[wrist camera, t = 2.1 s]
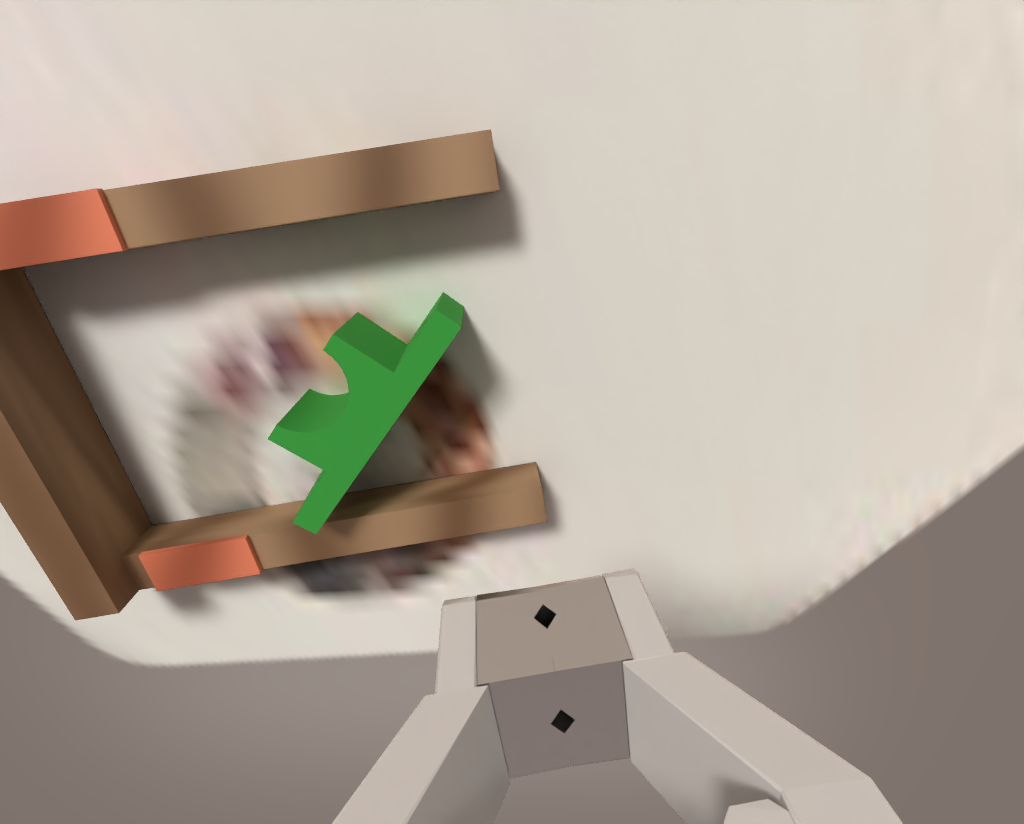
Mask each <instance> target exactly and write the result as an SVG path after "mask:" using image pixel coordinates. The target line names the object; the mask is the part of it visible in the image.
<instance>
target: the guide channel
mask: <svg viewBox="0 0 1024 824" xmlns="http://www.w3.org/2000/svg"><path fill="white" fill-rule="evenodd" d="M498 190H499V183H498V176H497V169H496V162H495V155H494V148H493V141H492V134H491V130H485V131H478V132H472V133H466V134H459V135H453V136H446V137H440V138H434V139H427V140H421V141H415V142H408V143H402V144H395V145H389V146H383V147H376V148H370V149H364V150H357V151H351V152H344V153H338V154H332V155H325V156H319V157H313V158H306V159H300V160H293V161H287V162H281V163H274V164H268V165H261V166H255V167H249V168H242V169H236V170H230V171H223V172H217V173H210V174H204V175H198V176H191V177H185V178H179V179H172V180H166V181H159V182H153V183H147V184H140V185H134V186H128V187H121V188H115V189H108V190H102V189H91V190H85V191H78V192H72V193H66V194H59V195H53V196H46V197H40V198H34V199H27V200H21V201H14V202H8V203H2V204H0V502H1V504H2V505H3V507H4V509H5V510H6V512H7V513H8V515H9V516H10V518H11V520H12V521H13V523H14V524H15V526H16V527H17V529H18V531H19V532H20V534H21V535H22V537H23V539H24V540H25V542H26V543H27V545H28V546H29V548H30V550H31V551H32V553H33V554H34V556H35V557H36V559H37V561H38V562H39V564H40V565H41V567H42V569H43V570H44V572H45V573H46V575H47V576H48V578H49V580H50V581H51V583H52V584H53V586H54V587H55V589H56V591H57V592H58V594H59V595H60V597H61V599H62V600H63V602H64V603H65V605H66V606H67V608H68V610H69V611H70V613H71V614H72V616H73V617H74V619H75V620H80V619H86V618H92V617H98V616H104V615H110V614H116V613H119V612H120V611H121V610H122V609H123V608H124V607H125V606H126V604H127V603H128V602H129V601H130V600H131V599H132V598H133V596H134V595H135V594H136V593H137V592H138V591H139V590H142V589H148V588H154V587H155V588H156V590H157V591H161V590H167V589H173V588H179V587H185V586H191V585H197V584H203V583H209V582H215V581H221V580H227V579H233V578H239V577H245V576H251V575H257V574H261V572H262V571H263V569H267V568H273V567H279V566H285V565H291V564H297V563H303V562H309V561H315V560H321V559H327V558H333V557H339V556H345V555H351V554H357V553H363V552H369V551H375V550H381V549H387V548H393V547H399V546H405V545H411V544H417V543H423V542H429V541H435V540H441V539H447V538H453V537H459V536H465V535H471V534H477V533H483V532H489V531H495V530H501V529H507V528H513V527H519V526H525V525H531V524H537V523H543V522H547V519H546V512H545V505H544V498H543V491H542V485H541V481H540V477H539V473H538V469H537V465H536V462H534V463H528V464H522V465H516V466H509V467H503V468H497V469H491V470H485V471H479V472H473V473H467V474H461V475H455V476H449V477H443V478H437V479H431V480H425V481H419V482H413V483H407V484H401V485H394V486H388V487H382V488H376V489H370V490H364V491H358V492H352V493H346V494H344V495H343V497H342V498H341V500H340V501H339V502H338V504H337V505H336V507H335V508H334V510H333V511H332V512H331V514H330V515H329V517H328V518H327V520H326V521H325V522H324V524H323V525H322V527H321V528H320V529H319V531H318V532H317V534H314V533H312V532H310V531H308V530H306V529H304V528H302V527H300V526H298V525H296V524H294V523H292V522H293V520H294V519H295V517H296V515H297V513H298V512H299V510H300V508H301V506H302V505H303V503H304V501H305V500H304V501H298V502H292V503H286V504H280V505H273V506H267V507H261V508H255V509H249V510H243V511H237V512H231V513H225V514H219V515H213V516H207V517H201V518H195V519H189V520H183V521H177V522H171V523H165V524H158V525H152V524H151V522H150V520H149V518H148V516H147V514H146V512H145V510H144V508H143V506H142V504H141V502H140V500H139V498H138V496H137V494H136V492H135V490H134V488H133V486H132V484H131V483H130V481H129V479H128V477H127V475H126V473H125V471H124V469H123V467H122V465H121V463H120V461H119V459H118V457H117V455H116V453H115V451H114V449H113V447H112V445H111V443H110V441H109V439H108V437H107V435H106V433H105V431H104V429H103V427H102V425H101V423H100V421H99V419H98V417H97V415H96V413H95V411H94V410H93V408H92V406H91V404H90V402H89V400H88V398H87V396H86V394H85V392H84V390H83V388H82V386H81V384H80V382H79V380H78V378H77V376H76V374H75V372H74V370H73V368H72V366H71V364H70V362H69V360H68V358H67V356H66V354H65V352H64V350H63V348H62V346H61V344H60V342H59V340H58V338H57V337H56V335H55V333H54V331H53V329H52V327H51V325H50V323H49V321H48V319H47V317H46V315H45V313H44V311H43V309H42V307H41V305H40V303H39V301H38V299H37V297H36V295H35V293H34V291H33V289H32V287H31V285H30V283H29V281H28V279H27V277H26V275H25V273H24V271H23V269H22V267H24V266H31V265H37V264H43V263H50V262H56V261H62V260H69V259H75V258H81V257H88V256H94V255H100V254H107V253H113V252H119V251H125V250H132V249H138V248H144V247H151V246H157V245H163V244H170V243H176V242H182V241H189V240H195V239H201V238H208V237H214V236H220V235H227V234H233V233H239V232H245V231H252V230H258V229H264V228H271V227H277V226H283V225H290V224H296V223H302V222H309V221H315V220H321V219H328V218H334V217H340V216H347V215H353V214H359V213H365V212H372V211H378V210H384V209H391V208H397V207H403V206H410V205H416V204H422V203H429V202H435V201H441V200H448V199H454V198H460V197H467V196H473V195H479V194H485V193H492V192H497V191H498Z"/></svg>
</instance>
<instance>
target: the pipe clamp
mask: <svg viewBox="0 0 1024 824" xmlns="http://www.w3.org/2000/svg"><path fill="white" fill-rule="evenodd" d="M463 309H464V307H463V306H462V305H461V304H459V303H458V302H456V301H455V300H454V299H452V298H451V297H449V296H448V295H446V294H445V293H444V292H443V293H442V295H441V296H440V298H439V299H438V301H437V302H436V304H435V305H434V306H433V308H432V309H431V311H430V312H429V314H428V315H427V317H426V318H425V320H424V321H423V323H422V324H421V326H420V327H419V329H418V330H417V332H416V333H415V335H414V336H413V338H412V339H411V340H410V342H409V343H408V345H407V344H405V343H404V342H402V341H401V340H399V339H398V338H396V337H395V336H393V335H392V334H390V333H389V332H387V331H386V330H384V329H383V328H381V327H380V326H378V325H377V324H375V323H374V322H372V321H371V320H369V319H367V318H366V317H364V316H363V315H361V314H360V313H356V314H355V315H354V316H353V317H352V318H351V319H350V320H349V321H347V322H346V323H345V324H344V325H343V326H342V327H341V328H340V329H338V330H337V331H336V332H335V333H334V334H333V335H332V337H331V338H330V340H329V342H328V343H327V345H326V346H325V348H324V351H325V352H327V353H328V354H329V355H330V356H332V357H333V358H334V359H335V360H336V362H337V363H338V364H339V365H340V367H341V368H342V370H343V372H344V374H345V376H346V379H347V382H348V388H349V392H348V393H346V394H342V395H325V394H321V393H318V392H315V391H313V390H311V389H309V390H308V391H307V392H306V393H305V394H304V395H303V397H302V398H301V399H300V400H299V401H298V402H297V403H296V404H295V405H294V406H293V407H292V409H291V410H290V411H289V412H288V413H287V414H286V415H285V416H284V417H283V418H282V420H281V421H280V422H279V423H278V424H277V425H276V427H275V428H274V430H273V431H272V433H271V435H270V436H269V438H268V440H270V441H272V442H274V443H276V444H277V445H279V446H281V447H283V448H285V449H287V450H288V451H290V452H292V453H294V454H296V455H297V456H299V457H301V458H303V459H305V460H307V461H308V462H310V463H312V464H314V465H316V466H317V467H319V468H321V469H323V471H322V472H321V474H320V475H319V477H318V479H317V481H316V482H315V484H314V486H313V487H312V489H311V491H310V493H309V494H308V496H307V498H306V500H305V501H304V503H303V505H302V506H301V508H300V510H299V512H298V513H297V515H296V517H295V519H294V520H293V522H292V523H294V524H296V525H298V526H300V527H302V528H304V529H306V530H308V531H310V532H312V533H314V534H317V532H318V531H319V529H320V528H321V527H322V525H323V524H324V522H325V521H326V520H327V518H328V517H329V515H330V514H331V512H332V511H333V510H334V508H335V507H336V505H337V504H338V502H339V501H340V500H341V498H342V497H343V495H344V494H345V493H346V491H347V490H348V488H349V487H350V485H351V484H352V483H353V481H354V480H355V478H356V477H357V475H358V474H359V473H360V471H361V470H362V468H363V467H364V466H365V464H366V463H367V461H368V460H369V458H370V457H371V456H372V454H373V453H374V451H375V450H376V448H377V447H378V446H379V444H380V443H381V441H382V440H383V439H384V437H385V436H386V434H387V433H388V431H389V430H390V429H391V427H392V426H393V424H394V423H395V421H396V420H397V419H398V417H399V416H400V414H401V413H402V412H403V410H404V409H405V407H406V406H407V404H408V403H409V402H410V400H411V399H412V397H413V396H414V394H415V393H416V392H417V390H418V389H419V387H420V386H421V385H422V383H423V382H424V380H425V379H426V377H427V376H428V375H429V373H430V372H431V370H432V369H433V367H434V366H435V365H436V363H437V362H438V360H439V359H440V358H441V356H442V355H443V353H444V352H445V350H446V349H447V348H448V346H449V345H450V343H451V342H452V340H453V339H454V338H455V336H456V335H457V333H458V332H459V331H460V329H461V328H462V319H463Z"/></svg>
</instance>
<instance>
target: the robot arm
mask: <svg viewBox="0 0 1024 824" xmlns="http://www.w3.org/2000/svg"><path fill="white" fill-rule="evenodd" d="M626 758H631V762H632V763H633V764H634V765H635V767H636V768H637V769H638V770H639V771H640V772H641V773H642V774H643V775H644V777H645V778H646V779H647V780H648V781H649V782H650V783H651V785H652V786H653V787H654V788H655V789H656V790H657V791H658V793H659V794H660V795H661V796H662V797H663V798H664V799H665V800H666V802H667V803H668V804H669V805H670V806H671V807H672V808H673V809H674V811H675V812H676V813H677V814H678V815H679V816H680V817H681V819H683V821H684V822H685V823H686V824H903V823H902V822H901V820H900V819H899V817H898V816H897V814H896V813H895V812H894V810H893V809H892V807H891V806H890V805H889V803H888V802H887V800H886V799H885V797H884V796H883V795H882V793H881V792H880V790H879V789H878V787H877V786H876V785H875V783H874V782H873V780H872V779H871V778H870V777H869V776H867V775H866V774H864V773H863V772H861V771H860V770H858V769H857V768H855V767H854V766H853V765H851V764H850V763H848V762H847V761H845V760H844V759H842V758H841V757H839V756H838V755H836V754H835V753H834V752H832V751H831V750H829V749H828V748H826V747H825V746H823V745H822V744H820V743H819V742H817V741H816V740H815V739H813V738H812V737H810V736H809V735H807V734H806V733H804V732H803V731H801V730H800V729H798V728H797V727H795V726H794V725H792V724H791V723H790V722H788V721H787V720H785V719H784V718H782V717H781V716H779V715H778V714H776V713H775V712H774V711H772V710H770V709H769V708H768V707H766V706H765V705H763V704H762V703H760V702H759V701H757V700H756V699H755V698H753V697H751V696H750V695H748V694H747V693H746V692H744V691H743V690H741V689H740V688H738V687H737V686H735V685H734V684H732V683H731V682H730V681H728V680H727V679H725V678H724V677H722V676H721V675H719V674H718V673H716V672H715V671H714V670H712V669H710V668H709V667H708V666H706V665H705V664H703V663H702V662H700V661H699V660H697V659H696V658H695V657H693V656H691V655H690V654H689V653H687V652H686V651H685V652H678V653H675V652H674V650H673V648H672V646H671V643H670V641H669V639H668V637H667V635H666V633H665V630H664V628H663V626H662V624H661V622H660V620H659V617H658V615H657V613H656V611H655V609H654V607H653V605H652V602H651V600H650V598H649V596H648V594H647V592H646V589H645V587H644V585H643V583H642V581H641V579H640V577H639V574H638V572H636V571H635V570H634V569H629V570H623V571H618V572H613V573H607V574H602V576H600V575H599V576H594V577H588V578H582V579H577V580H571V581H565V582H560V583H554V584H548V585H543V586H537V587H530V588H523V589H516V590H509V591H502V592H495V593H488V594H481V595H477V596H472V597H465V598H458V599H451V600H445V601H444V603H443V606H442V609H441V622H440V635H439V648H438V661H437V675H436V687H435V694H432V695H427V696H424V697H423V699H422V700H421V702H420V703H419V704H418V706H417V707H416V708H415V710H414V711H413V712H412V714H411V715H410V717H409V718H408V719H407V721H406V722H405V724H404V725H403V726H402V728H401V729H400V731H399V732H398V733H397V735H396V736H395V738H394V739H393V740H392V741H391V743H390V745H389V746H388V747H387V748H386V750H385V751H384V753H383V754H382V755H381V757H380V758H379V759H378V761H377V762H376V764H375V765H374V766H373V768H372V769H371V770H370V772H369V773H368V775H367V776H366V777H365V779H364V780H363V781H362V783H361V784H360V786H359V787H358V788H357V790H356V791H355V793H354V794H353V795H352V797H351V798H350V799H349V801H348V802H347V804H346V805H345V806H344V808H343V809H342V810H341V812H340V813H339V815H338V816H337V817H336V819H335V820H334V822H333V823H332V824H494V823H495V820H496V818H497V815H498V813H499V810H500V808H501V805H502V803H503V800H504V798H505V795H506V793H507V790H508V788H509V785H510V780H509V779H511V778H516V777H521V776H526V775H530V774H535V773H540V772H545V771H550V770H555V769H559V768H564V767H569V764H570V766H576V765H583V764H591V763H597V762H605V761H612V760H619V759H626Z"/></svg>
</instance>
